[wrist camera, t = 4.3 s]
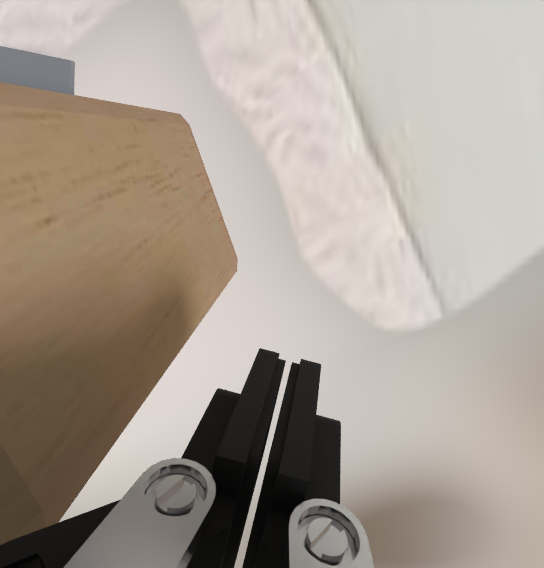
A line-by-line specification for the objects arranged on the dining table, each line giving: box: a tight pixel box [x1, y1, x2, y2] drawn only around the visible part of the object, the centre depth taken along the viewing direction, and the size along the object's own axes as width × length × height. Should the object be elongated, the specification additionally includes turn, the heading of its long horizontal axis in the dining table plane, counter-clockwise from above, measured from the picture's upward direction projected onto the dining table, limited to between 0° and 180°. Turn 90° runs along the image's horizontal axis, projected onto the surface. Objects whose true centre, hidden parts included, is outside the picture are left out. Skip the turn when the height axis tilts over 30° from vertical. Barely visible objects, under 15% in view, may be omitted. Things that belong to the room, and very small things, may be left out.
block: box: [0, 82, 237, 545], centre depth 16 cm, size 10×10×20 cm
